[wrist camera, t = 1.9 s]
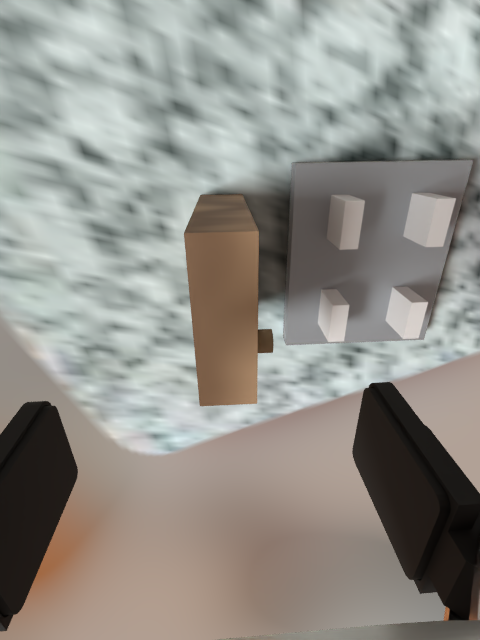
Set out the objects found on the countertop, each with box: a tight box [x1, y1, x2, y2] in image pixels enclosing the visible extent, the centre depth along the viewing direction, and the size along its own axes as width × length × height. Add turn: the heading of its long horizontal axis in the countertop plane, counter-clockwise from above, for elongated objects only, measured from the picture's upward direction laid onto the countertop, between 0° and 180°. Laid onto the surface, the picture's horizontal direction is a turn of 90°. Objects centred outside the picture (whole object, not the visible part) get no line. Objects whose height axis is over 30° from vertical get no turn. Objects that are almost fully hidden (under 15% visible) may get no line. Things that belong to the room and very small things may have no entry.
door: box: [184, 194, 273, 406], centre depth 21 cm, size 4×9×12 cm, turn 1°
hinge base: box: [283, 159, 473, 345], centre depth 25 cm, size 12×14×4 cm
